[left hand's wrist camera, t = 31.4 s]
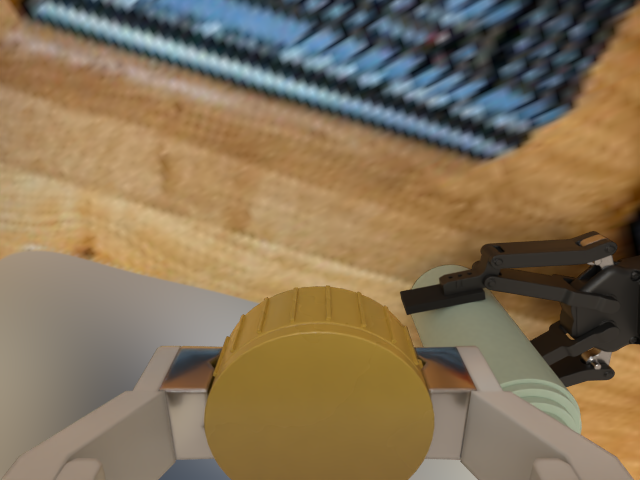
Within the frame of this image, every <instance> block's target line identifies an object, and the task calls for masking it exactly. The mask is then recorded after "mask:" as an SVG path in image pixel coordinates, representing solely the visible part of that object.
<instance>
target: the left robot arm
mask: <svg viewBox="0 0 640 480" xmlns="http://www.w3.org/2000/svg"><path fill="white" fill-rule="evenodd" d="M222 348H223V347H204V346H182V347H181V346H161V347H159V348H157V350H156V351H155V353H154V355H153V356H152V358H151V360H150V362H149V363H148V365H147V367H146V368H145V370H144V372H143V374H142V375H141V377H140V379H139V381H138V382H137V384H136V386H135V387H134V389H133V391H125V392H124V393H122V394H120V395H119V396H117V397H115V398H114V399H112V400H110V401H109V402H107V403H106V404H104V405H102V406H101V407H99V408H97V409H96V410H94V411H92V412H91V413H89V414H87V415H86V416H84V417H83V418H81V419H79V420H78V421H76V422H74V423H73V424H71V425H69V426H68V427H66V428H65V429H63V430H61V431H60V432H58V433H56V434H55V435H53V436H51V437H50V438H48V439H46V440H45V441H43V442H42V443H40V444H38V445H37V446H35V447H33V448H32V449H30V450H28V451H27V452H25V453H24V454H22V455H20V456H19V457H18V458H17V460H16V461H15V462H14V463H13V465H12V466H11V467H10V469H9V470H8V471H7V472H6V474H5V475H4V476H3V478H2V479H1V480H158V479H159V478H160V477H161V476H162V475H163V474H164V473H165V472H166V471H167V470H168V469H169V468H170V467H171V466H172V465H173V464H174V463H175V460H181V459H215V458H214V457H213V455H212V453H211V450H210V448H209V446H208V443H207V439H206V435H205V427H204V414H205V406H206V402H207V399H208V395H209V392H210V389H211V387H212V384H213V381H214V378H215V376H213V373H214V370H215V367H216V364H217V362H218V359H219V356H220V353H221V351H222ZM414 349H415V352H416V355H417V358H418V359H419V360H421V361H422V364H423V368H422V369H421V371H422V374H423V377H424V380H425V383H426V386H427V389H428V392H429V395H430V398H431V401H432V405H433V410H434V433H433V439H432V442H431V445H430V448H429V451H428V453H427V455H426V457H425V459H455V460H461V463H462V464H463V465H464V466H465V467H466V468H467V469H468V470H469V471H470V472H471V473H472V474H473V475H474V476H475V477H476V478H477V479H478V480H634V479H633V478H632V477H631V475H630V474H629V473H628V471H627V470H626V469H625V467H624V466H623V465H622V463H621V462H620V461H619V459H618V458H617V457H616V456H614V455H613V454H611V453H609V452H608V451H606V450H605V449H603V448H601V447H600V446H598V445H596V444H595V443H593V442H592V441H590V440H588V439H587V438H585V437H583V436H582V435H580V434H579V433H577V432H575V431H574V430H572V429H571V428H569V427H567V426H566V425H564V424H562V423H561V422H559V421H558V420H556V419H554V418H553V417H551V416H549V415H548V414H546V413H545V412H543V411H541V410H540V409H538V408H537V407H535V406H533V405H532V404H530V403H528V402H527V401H525V400H524V399H522V398H520V397H519V396H517V395H515V394H514V393H512V392H511V391H503V389H502V388H501V386H500V384H499V382H498V381H497V379H496V377H495V375H494V374H493V372H492V370H491V369H490V367H489V365H488V363H487V362H486V360H485V358H484V356H483V355H482V353H481V351H480V349H479V348H478V347H476V346H454V347H414Z"/></svg>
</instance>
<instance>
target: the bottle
mask: <svg viewBox="0 0 640 480" xmlns="http://www.w3.org/2000/svg"><path fill="white" fill-rule="evenodd" d="M465 270H470V269H468V268H465V267H462V266H458V265H444V266H439V267H436V268H433V269H431V270H429V271H428V272H426V273H425V274H423V275H422V276H421V277H420V278H419V279H418V280H417V281H416V282H415V284H414V285H413V287H412V289H416V288H421V287H426V286H431V285H436V284H440V283H439V277H441V276H443V275H445V274H450V273H451V274H452V273H456V272H460V271H465ZM482 289H483V290H484V291H485V299H486V300H481V301H476V302H471V303H465V304H460V305H455V306H450V307H445V308H440V309H435V310H430V311H424V312H419V313H414V314H411V316H412V318H413V321H414V324H415V326H416V329H417V331H418V334H419V337H420V339H421V342H422V344H423V347H454V346H476V347H478V348H479V349H480V351H481V353H482V355H483V356H484V358H485V360H486V362H487V363H488V365H489V367H490V369H491V370H492V372H493V374H494V375H495V377H496V379H497V381H498V382H499V384H500V386H501V388H502V389H503V391H511V392H512V393H514V394H515V395H517V396H519V397H520V398H522V399H524V400H525V401H527V402H528V403H530V404H532V405H533V406H535V407H537V408H538V409H540V410H541V411H543V412H545V413H546V414H548V415H549V416H551V417H553V418H554V419H556V420H558V421H559V422H561V423H562V424H564V425H566V426H567V427H569V428H571V429H572V430H574V431H575V432H577V433H579V434H581V417H580V410H579V407H578V404H577V402H576V400H575V399H574V397H573V396H572V395H571V393H570V392H569V391H568V389H567V388H566V387H565V386H564V384H563V383H562V382H561V381H560V379H559V378H558V377H557V375H556V374H555V373H554V372H553V370H552V369H551V368H550V367H549V365H548V364H547V363H546V361H545V360H544V359H543V358H542V356H541V355H540V354H539V353H538V351H537V350H536V349H535V347H534V346H533V345H532V344H531V342H530V341H529V340H528V339H527V337H526V336H525V335H524V334H523V332H522V331H521V330H520V328H519V327H518V326H517V325H516V323H515V322H514V321H513V320H512V318H511V317H510V316H509V314H508V313H507V312H506V311H505V309H504V308H503V307H502V306H501V304H500V303H499V302H498V300H497V299H496V298H495V297H494V295H493V294H492V293H491V292H490V290H489V289H487V288H482Z"/></svg>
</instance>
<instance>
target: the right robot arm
mask: <svg viewBox="0 0 640 480" xmlns="http://www.w3.org/2000/svg"><path fill="white" fill-rule="evenodd" d="M616 250H617V245H616V243H614V242H613V241H611V240H609V239H608V238H606V237H604V236H603V235H601V234H599V233H597V232H595V231H592V232H589V233H586V234H583V235H581V236H578V237H575V238H573V239H566V240H548V241H529V242H511V243H493V244H485V245H484V246H483V247H482V248H481V254H482V256H481V260H480V261H477V262H475V263H474V264H473V266H472V269H470V270H465V271H460V272H456V273H452V274H451V273H450V274H445V275H443V276H441V277H439V283H440V284H436V285H431V286H426V287H421V288H416V289H411V290H406V291H401V292H400V294H401V299H402V302H403V305H404V308H405V311H406V313H407V315H409V314H414V313H419V312H424V311H430V310H435V309H440V308H445V307H450V306H455V305H460V304H465V303H471V302H476V301H481V300H486V299H485V291H484V290H483V289H482V288H487V289H489V290H494V291H500V292H506V293H512V294H518V295H524V296H530V297H536V298H542V299H548V300H554V301H560V304H561V307H562V311H561V314H560V320H559V321H558V322H556V323H554V324H552V325H551V326H550V327H549V331H547V332H546V333H544V334H542V335H540V336H538V337H537V338H535V339H533V340H531V341H530V342H531V344H532V345H533V346H534V347H535V349H536V350H537V351H538V353H539V354H540V355H541V356H542V358H543V359H544V360H545V361H546V363H547V364H548V365H549V367H550V368H551V369H552V370H553V372H554V373H555V374H556V375H557V377H558V378H559V379H560V381H561V382H562V383H563V384H564V386H565V387H569V386H572V385H575V384H578V383H582V382H585V381H593V380H609V379H611V378H613V377H614V375H615V372H614V370H613V369H612V368H611V367H610V366H609V362H610V358H611V354H612V352H614V351H617V350H619V349H620V348H622V347H624V346H626V345H629V344H640V255H639V256H634V257H629V258H624V259H620V260H618V261H616V262H613V258H612V254H614V253H615V252H616ZM586 263H587V264H589V265H592V266H590V267H589V268H588V269H587V270H586V271H584V272H583V273H582V274H581V275H580V276H578V277H577V278H573V277H568V276H562V275H556V274H553V275H552V276H550V275H544V274H538V273H532V272H526V271H520V270H514V269H508V268H522V267H541V266H559V265H578V264H586ZM566 333H568V334H569V335H570V336H571V337H572V338H573V339H575V340H571V339H569V338H568V337H567V336H566ZM593 347H594V348H593ZM591 348H593V349H591ZM589 349H591V350H589Z"/></svg>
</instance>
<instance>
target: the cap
mask: <svg viewBox="0 0 640 480" xmlns="http://www.w3.org/2000/svg"><path fill="white" fill-rule="evenodd" d="M422 368H423V364H422V361H421V360H419V359H418V358H417V355H416V352H415V349H414V346H413V343H412V341H411V338H410V334H409V331H408V328H407V327H406V326H404V327H403V325H402V324H401V323H400V321H399V320H398V319H397V318H396V317H395V316H394V315H393V314H392V313H391V312H390V311H389V310H388V307H386V306H384V307H383V306H382V305H381V304H379V303H377V302H375V301H374V300H372V299H370V298H368V297H366V296H364V295H361V293H360V292H357V293H356V292H353V291H349V290H345V289H341V288H334V287H330V286H326V287H318V286H315V287H304V288H298V287H297V288H294V290H289V291H286V292H283V293H280V294H277V295H275V296H273V297H271V298H268V297H267V298H265V299H264V301H263V302H262V303H260V304H259V305H257V306H256V307H254V308H253V309H252V310H251V311H249V312H248V313H247V314H246V315H244V314H243V315H242V316H241V318H240V321H239V323H238V324H237V325H236V327H235V329H234V330H233V332H232V333H231V335H230V337H228V336H227V337H226V339H225V342H224V345H223V348H222V351H221V353H220V356H219V359H218V362H217V364H216V367H215V370H214V373H213V376H215V378H214V381H213V384H212V387H211V389H210V392H209V395H208V399H207V402H206V406H205V414H204V427H205V435H206V439H207V443H208V446H209V448H210V450H211V453H212V455H213V457H214V458H215V460H216V462H217V463H218V465H219V466H220V467H221V469H222V470H223V471H224V472H225V474H226V475H227V476H228V477H229V478H230V479H231V480H408V479H409V478H410V477H411V476H412V475H413V474H414V473H415V472H416V471H417V469H418V468H419V466H420V465H421V464H422V462H423V461H424V459H425V457H426V455H427V453H428V451H429V448H430V445H431V442H432V439H433V433H434V410H433V405H432V401H431V398H430V395H429V392H428V389H427V386H426V383H425V380H424V377H423V374H422V371H421V369H422Z"/></svg>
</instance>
